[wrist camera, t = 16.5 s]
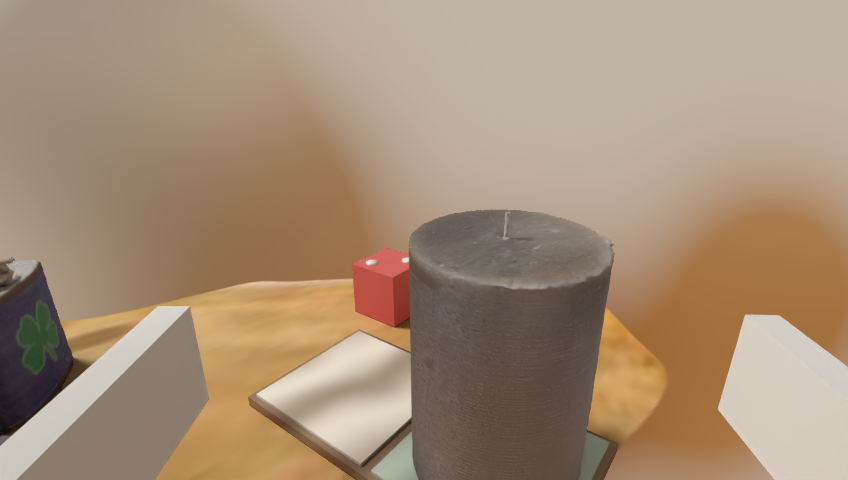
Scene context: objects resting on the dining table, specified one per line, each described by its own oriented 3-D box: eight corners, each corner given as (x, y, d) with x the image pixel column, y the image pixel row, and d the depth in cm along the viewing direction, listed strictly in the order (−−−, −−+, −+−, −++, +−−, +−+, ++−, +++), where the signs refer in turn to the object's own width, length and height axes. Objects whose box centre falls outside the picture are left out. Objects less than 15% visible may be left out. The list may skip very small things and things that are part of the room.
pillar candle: (405, 406, 31) (397, 190, 26) (544, 392, 32) (566, 182, 27) (423, 548, 22) (417, 262, 17) (616, 521, 23) (670, 246, 18)
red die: (355, 311, 45) (352, 263, 43) (389, 292, 49) (387, 247, 47) (394, 327, 42) (392, 276, 41) (427, 305, 46) (426, 258, 44)
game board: (249, 405, 33) (247, 394, 32) (359, 336, 41) (358, 327, 41) (542, 610, 20) (544, 596, 20) (616, 452, 28) (618, 441, 28)
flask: (44, 359, 38) (1, 238, 34) (85, 353, 39) (48, 234, 35) (-20, 441, 30) (-87, 293, 26) (33, 431, 31) (-23, 286, 27)
